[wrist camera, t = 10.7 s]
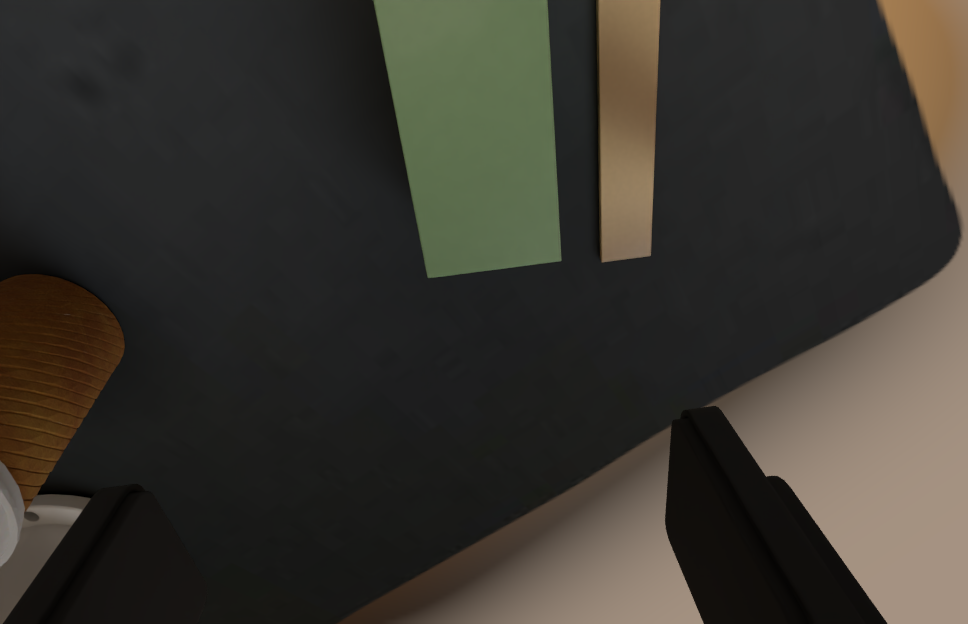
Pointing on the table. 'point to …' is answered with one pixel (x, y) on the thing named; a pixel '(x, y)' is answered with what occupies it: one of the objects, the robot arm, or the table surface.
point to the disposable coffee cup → (46, 382)
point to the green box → (475, 129)
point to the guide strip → (626, 124)
